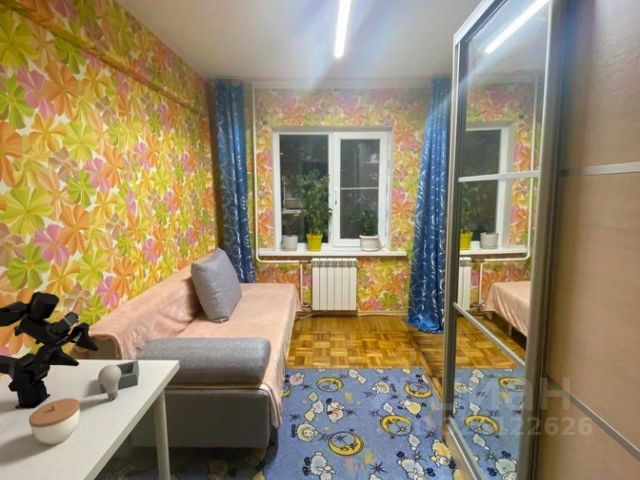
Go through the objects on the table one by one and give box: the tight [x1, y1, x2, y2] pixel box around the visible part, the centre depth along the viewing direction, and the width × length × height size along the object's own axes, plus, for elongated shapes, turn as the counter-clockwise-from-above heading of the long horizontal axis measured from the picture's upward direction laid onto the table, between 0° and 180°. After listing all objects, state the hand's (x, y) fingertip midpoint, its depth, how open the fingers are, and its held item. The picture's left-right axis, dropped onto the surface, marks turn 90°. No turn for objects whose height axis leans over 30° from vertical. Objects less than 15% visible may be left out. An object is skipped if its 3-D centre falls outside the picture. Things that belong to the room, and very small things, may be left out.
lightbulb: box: [97, 364, 121, 401], centre depth 111 cm, size 6×6×11 cm
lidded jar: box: [28, 397, 81, 446], centre depth 95 cm, size 11×11×9 cm
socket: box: [99, 359, 140, 395], centre depth 121 cm, size 10×10×4 cm
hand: (88, 357), depth 109 cm, fingers open, 9 cm apart
